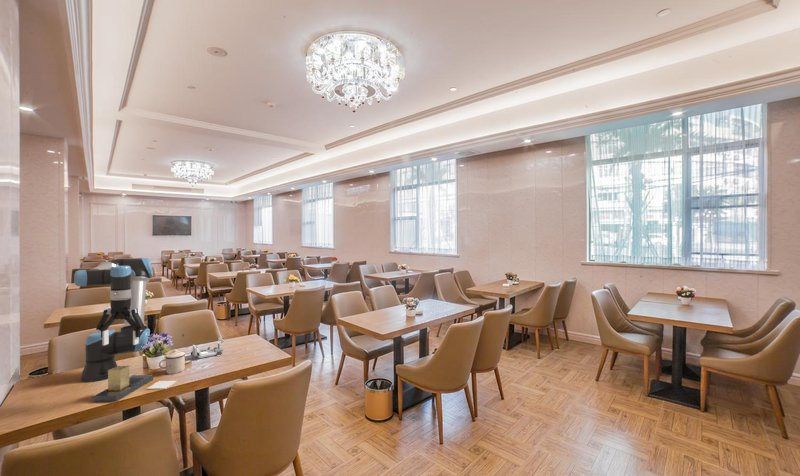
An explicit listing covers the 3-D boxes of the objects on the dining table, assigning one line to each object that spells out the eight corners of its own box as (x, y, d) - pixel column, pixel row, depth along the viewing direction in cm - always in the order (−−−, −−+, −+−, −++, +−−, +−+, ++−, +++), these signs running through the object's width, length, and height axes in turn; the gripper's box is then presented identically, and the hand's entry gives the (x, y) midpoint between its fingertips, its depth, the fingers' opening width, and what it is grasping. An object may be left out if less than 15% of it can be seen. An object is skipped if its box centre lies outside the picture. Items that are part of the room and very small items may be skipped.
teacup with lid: (184, 366, 198) (184, 346, 198) (185, 371, 191) (185, 350, 191) (158, 371, 191) (158, 350, 191) (159, 377, 184) (159, 354, 184)
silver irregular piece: (222, 335, 229) (226, 339, 220) (222, 350, 229) (226, 355, 220) (190, 340, 218) (193, 344, 209) (190, 356, 218) (193, 361, 209)
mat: (146, 389, 168) (146, 388, 168) (158, 381, 177) (158, 380, 177) (165, 389, 169) (165, 388, 169) (176, 381, 178) (176, 380, 178)
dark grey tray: (93, 401, 156) (93, 396, 156) (132, 380, 180) (132, 375, 180) (116, 401, 156) (116, 395, 156) (152, 379, 180) (152, 374, 180)
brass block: (108, 396, 161) (108, 370, 161) (117, 391, 166) (117, 366, 166) (120, 396, 161) (120, 370, 161) (129, 391, 166) (129, 365, 167)
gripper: (86, 300, 160) (86, 347, 160) (142, 300, 161) (142, 346, 161) (99, 297, 168) (99, 342, 167) (153, 297, 169) (153, 341, 169)
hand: (120, 344), depth 164 cm, fingers open, 13 cm apart
